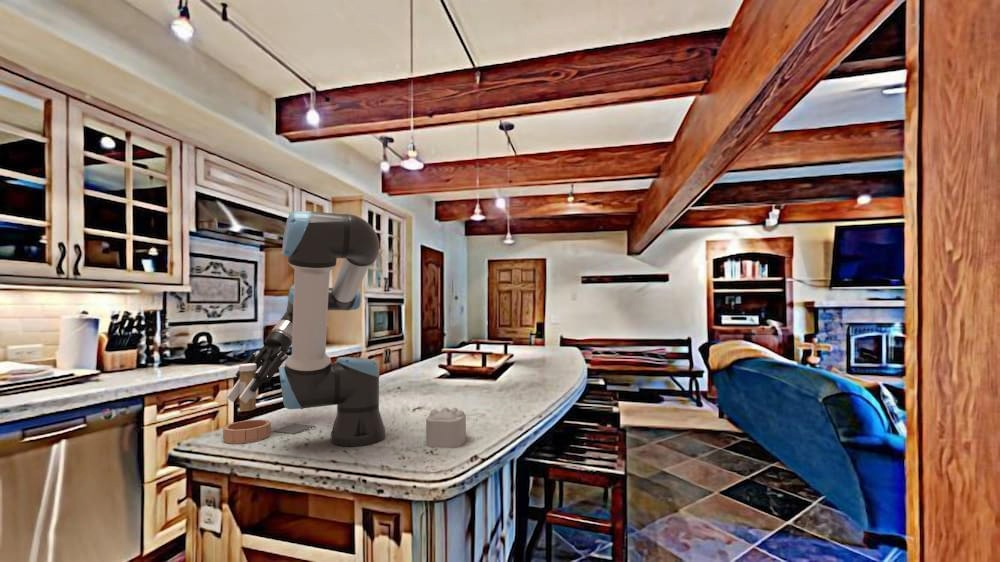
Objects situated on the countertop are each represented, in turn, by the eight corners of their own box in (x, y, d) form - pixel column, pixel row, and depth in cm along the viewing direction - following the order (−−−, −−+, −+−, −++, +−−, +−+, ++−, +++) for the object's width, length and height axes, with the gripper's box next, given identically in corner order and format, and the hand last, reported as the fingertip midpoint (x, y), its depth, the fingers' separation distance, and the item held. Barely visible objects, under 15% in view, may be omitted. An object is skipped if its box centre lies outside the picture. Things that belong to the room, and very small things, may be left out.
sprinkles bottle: (257, 410, 139) (257, 364, 140) (239, 412, 137) (239, 365, 137) (255, 407, 143) (255, 362, 144) (238, 409, 141) (238, 363, 141)
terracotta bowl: (278, 434, 142) (279, 421, 143) (244, 445, 131) (244, 432, 131) (249, 430, 147) (249, 418, 147) (213, 441, 136) (213, 428, 136)
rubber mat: (316, 426, 151) (316, 425, 151) (294, 434, 142) (294, 433, 142) (294, 424, 154) (294, 423, 154) (271, 431, 145) (271, 430, 145)
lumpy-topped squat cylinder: (422, 447, 128) (422, 414, 129) (436, 433, 141) (436, 404, 141) (459, 448, 127) (459, 415, 127) (470, 434, 139) (469, 405, 140)
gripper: (309, 345, 152) (266, 409, 136) (268, 344, 158) (222, 404, 142) (296, 330, 147) (250, 394, 131) (254, 329, 153) (206, 390, 137)
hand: (236, 399), depth 137 cm, fingers closed on sprinkles bottle, 4 cm apart
